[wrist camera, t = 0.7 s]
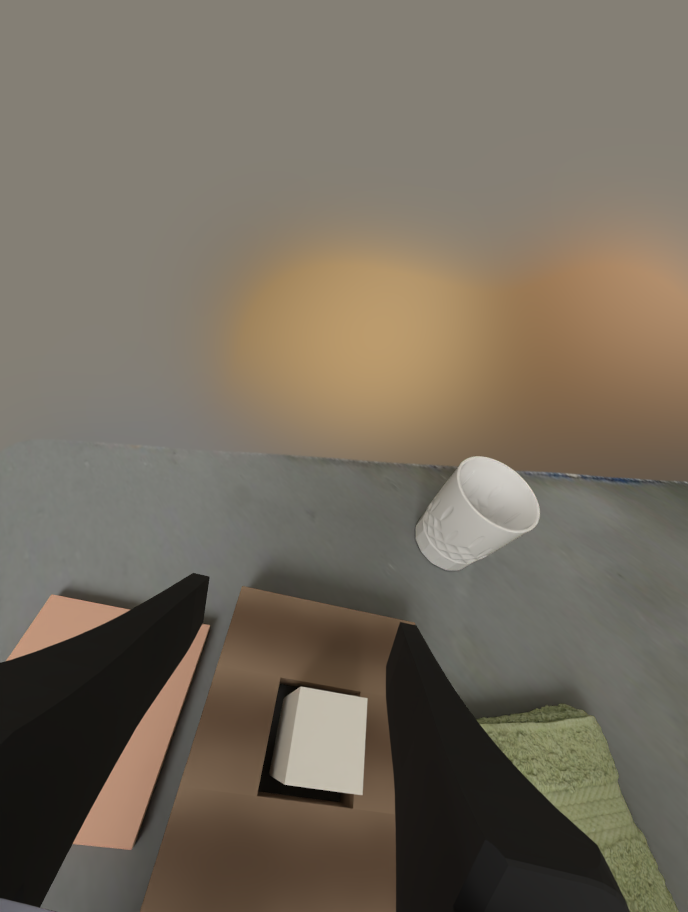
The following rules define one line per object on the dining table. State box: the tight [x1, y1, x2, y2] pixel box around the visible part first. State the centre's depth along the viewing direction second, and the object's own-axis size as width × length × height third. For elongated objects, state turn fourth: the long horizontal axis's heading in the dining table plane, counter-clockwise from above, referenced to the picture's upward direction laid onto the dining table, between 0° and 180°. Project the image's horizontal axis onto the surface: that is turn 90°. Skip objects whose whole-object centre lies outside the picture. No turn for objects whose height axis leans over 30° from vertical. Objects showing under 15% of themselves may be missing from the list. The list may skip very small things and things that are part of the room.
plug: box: [269, 687, 368, 795], centre depth 21 cm, size 4×4×7 cm
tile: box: [6, 595, 210, 850], centre depth 21 cm, size 11×11×1 cm
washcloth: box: [476, 704, 679, 912], centre depth 22 cm, size 13×18×3 cm
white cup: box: [415, 456, 540, 571], centre depth 33 cm, size 8×8×10 cm
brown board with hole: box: [140, 586, 415, 912], centre depth 22 cm, size 16×14×3 cm
